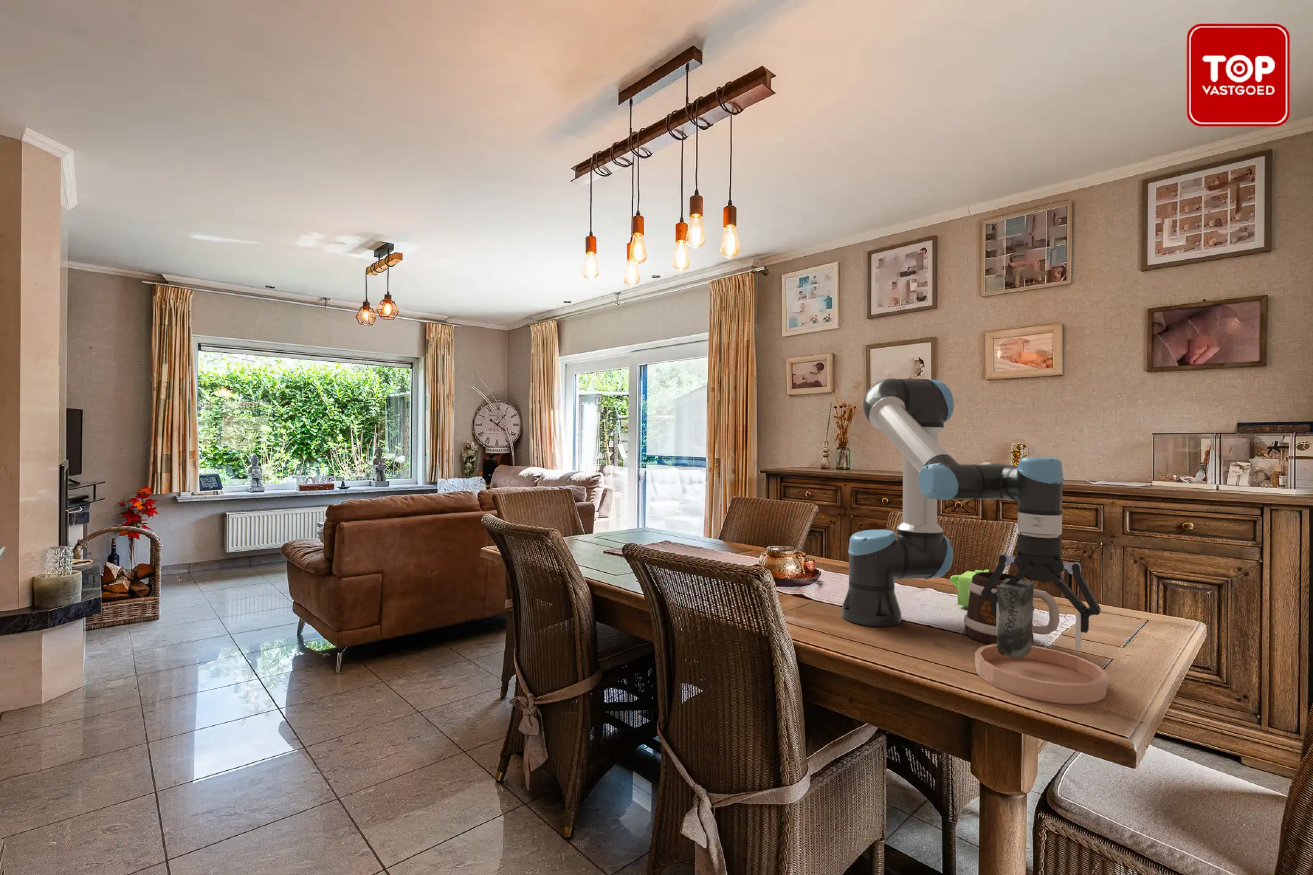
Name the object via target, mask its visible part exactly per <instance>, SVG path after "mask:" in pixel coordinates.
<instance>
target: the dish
mask: <svg viewBox="0 0 1313 875" xmlns="http://www.w3.org/2000/svg"><path fill="white" fill-rule="evenodd" d="M974 667H975V672H976V674H977V676H978V677H979V678H980V679H982V680H983V681H984V682H986V683H987V684H989V685H991V686H993V687H994V688H996V689H1000V690H1002V691H1004V692H1007V693H1009V694H1014V695H1016V696H1020V697H1024V698H1027V699H1031V700H1036V701H1040V702H1047V703H1051V704H1052V703H1053V704H1061V705H1062V704H1063V705H1073V706H1075V705H1092V704H1095V703H1099V702H1101V701H1104V700H1105V699H1106V697H1107V691H1108V673H1107V672H1106V671H1105V670H1104V669H1103V668H1102V667H1100V665H1098V664H1096V663H1094V662H1091V661H1090V660H1087V659H1085V658H1083V657H1081V656H1079V655H1074V654H1072V653H1067V652H1064V651H1061V650H1058V649H1053V648H1047V647H1041V646H1038V645H1032V647H1031V651H1030V652H1029V653H1028V654H1027V656H1025V657H1024V658H1023V659H1018V658H1011V657H1007V656H1004V655H1001V654H1000V653H999V652H998V649H997V644H987V645H983V646H980V647H978V649H977V650H976V651H975V652H974Z"/></svg>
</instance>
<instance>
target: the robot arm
mask: <svg viewBox="0 0 1313 875" xmlns="http://www.w3.org/2000/svg"><path fill="white" fill-rule="evenodd" d="M862 408H863V413H864V417H865V418H866V420H867V421H868V423H870V424H871V426H872V427H874V428H875V429H876V430H877V429H878V430H881V431H882V432H883V433H884V435H886V437H887V438H888V439H889V440H890V441H891V442H892V444H893V445H894V446H895V447H896V448H897V450H899V452H900V453H901V454H902V522H901V523H900V524H898V525H897V527H896V533H895V532H894V531H893V530H890V529H868V530H861V531H858V532H855V533H853V534H852V535H851V536H850V537H849V544H848V550H847V552H848V589H847V592H846V595H845V598H844V601H843V603H842V606H841V616H842V617H841V618H843V619H844V620H847V621H849V622H850V623H851V622H852V623H855V624H859V625H863V626H870V627H893V626H897V625H900V624H901V623H902V610H901V607H900V605H899V602H898V598H897V596H896V590H895V582H896V581H895V580H908V579H909V580H911V579H912V580H913V579H917V580H918V579H923V580H930V579H939V578H941V577H943V576H945V575H946V573H948V572H949V570H950V569H951V566H952V565H953V560H954V549H953V546H952V545H951V544H952V543H951V540H950V539H949V537H947V536H946V535H944V529H943V528H942V527H941V526H940V525H939V524H938V500H940V501H949V500H951V501H953V500H1006V501H1013V502H1014V501H1015V502H1017V506H1018V507H1017V528H1016V529H1017V530H1018V532H1020V533H1018V534H1017V535H1016V536H1017V540H1016V541H1017V544H1016V547H1017V548H1016V556H1013V555H1009V554H1007V553H1005V552H1003V553H1002V554H1000V555H999V557H998V563H997V566H996V568H995V569H994V570H993V574H992V576H991V577H990V579H989V580H988V582H987V584H986V585H985V587H984V589H983V590H982V592H981V595H982V596H984V597H987V598H989V599H990V600H991V615H992V616H996V634H997V629H998V625H999V617H1000V612H999V605H998V596H997V591H996V592H995V593H993V592H991V590H992V588H993V587H994V585H995V584H996V582H997V580H998V579H999V577H1000V576H1001V574H1002V573H1004V571H1005V569H1006V567H1008V566H1011V564H1012V563H1014V565H1015V567H1017V569H1018V570H1019V571H1018V572H1017V573H1016V574H1014V575H1015V576H1013V577H1012V578H1011V579H1010V580H1009V581H1008V582H1007V583H1006V584H1008V585H1015V584H1016V583H1017V582H1018V581H1019V580H1021V579H1023V578H1026V579H1027V580H1028V581H1030V582H1031V581H1032V582H1033V581H1037V582H1038V581H1039V582H1042V583H1045V584H1046V583H1049V582H1052V583H1053V584H1054V586H1055V587H1057V588H1058V590H1059V591H1060V592H1061V593H1062V594H1063V596H1064V597H1065V598H1066V599H1067V600H1068V601H1069V603H1070V604H1071V605H1072V606H1073V607H1074V608H1075V610H1076V611H1077V612H1076V614H1075V642H1074V643H1075V645H1074V649H1075V650H1076V651H1081V650H1082V649H1081V648H1082V646H1083V645H1082V641H1083V640H1082V638H1083V637H1082V636H1083V633H1085V634H1087V633H1088V632H1089V629H1090V616H1094V615H1095V616H1098V615H1100V613H1101V612H1102V611H1101V610H1102V609H1101V606H1100V605H1099V603H1098V600H1097V599H1096V598H1095V595H1094V594H1093V592H1092V590H1091V588H1090V587H1089V585H1088V582H1087V581H1086V579H1085V577H1084V575H1083V573H1082V565H1081V563H1080V562H1078V561H1075V562H1064V561H1063V559H1062V549H1063V548H1062V547H1063V546H1062V544H1063V543H1062V542H1063V539H1062V538H1061V536H1060V535H1062V534H1063V492H1064V490H1063V488H1064V485H1063V484H1064V481H1065V480H1064V475H1063V471H1064V470H1063V463H1062V461H1061V460H1060V459H1058V458H1056V457H1055V458H1054V457H1040V456H1039V457H1038V456H1025V457H1020V458H1019V460H1018V465H1012V464H1005V463H986V464H972V463H970V464H969V463H968V464H962V463H959V462H957V461H956V459H954V457H953V456H952V455H950V454H949V452H948V451H946V450H945V449H944V447H943V446H941V444H940V443H939V442H938V438H939V437H938V436H939V434H940V433H941V432H942V431H944V429H945V428H944V427H945V426H944V424H945V423H947V422H948V421H949V420H950V419H951V418H952V416H953V415H952V414H953V413H954V408H955V402H954V397H953V393H952V390H951V389H950V388H949V387H948V386H947V384H946V383H945V382H943V381H941V380H938V379H929V378H886V379H882V380H880V381H877V382H875V383H874V384H872V385H871V387H869V389H868V390H867V391H866V393H865V395H864V397H863V401H862ZM1063 570H1067V572H1068V574H1070V575H1072V576H1073V580H1074V581H1075V583H1076V584H1077V587H1078V588H1079V591H1080V593H1081V594H1082V595H1083V598H1084V599H1085V602H1086V604H1087V605H1088V607H1087V606H1086V605H1085V603H1084V602H1083V601H1082V600H1081V599H1080V598H1079V596H1078V595H1077V594H1076V593H1075V592H1074V590H1073V589H1072V588H1071V587H1070V586H1069V585H1068V584H1067V583H1066V581H1065V580H1064V579H1063V577H1062V576H1061V575H1060V574H1061V572H1062V571H1063Z"/></svg>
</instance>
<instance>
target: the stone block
mask: <svg viewBox="0 0 1313 875" xmlns="http://www.w3.org/2000/svg"><path fill="white" fill-rule="evenodd" d="M1009 580H1010V579H1005V580H1004V581H1003V582H1002V583H1001V584H1000V585H997V586H996V588H997V596H998V605H999V612H1000V617H999V625H998V629H997V639H996V643H997V649H998V652H999V653H1000V654H1001V655H1004V656H1007V657H1011V658H1018V659H1023V658H1024V657H1025V656H1027V654H1028V653H1029V652H1030V651H1031V647H1032V646H1033V642H1032V624H1033V622H1034V611H1035V606H1034V597H1033V591H1034V589H1035V588H1034V586H1035V583H1034V582H1033V581H1032V582H1031V581H1027V580H1024V581H1021V580H1019V581H1018V582H1017V583H1016V584H1015V585H1008V584H1006V583H1007V582H1008V581H1009Z"/></svg>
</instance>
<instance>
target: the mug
mask: <svg viewBox="0 0 1313 875" xmlns="http://www.w3.org/2000/svg"><path fill="white" fill-rule="evenodd" d="M993 572H994V571H993ZM993 572H992V571H991V572H990V571H989V572H980V573H977V574H975V575H973V577H972V581H970V582H969V586H968V587H969V590H970V595H969V603H968V608H967V609H966V610H967V612H966V614H965V615H964V618H963V622H964V633H965V634H966V635H967V636H968V637H970V638H971V639H973V640H974V641H978V642H980V643H983V644H987V645H991V644H997V643H996V639H997V634H996V616H992V615H991V600H990V599H989V598H987V597H984V596H982V595H981V592H982V590H983V589H984V587H985V585H986V584H987V582H988V580H989V579H990V577H991V576H992V574H993ZM1015 575H1016V574H1010V573H1006V572H1005V573H1004V572H1002V574H1001V576H1000V577H999V579H998V580H997V582H996V584H995V585H994V587H993V588H992V590H991V592H993V593H995V592H996V591H997V588H996V586H997V585H1000V584H1001V583H1002V582H1003V581H1004V580H1005V579H1011V578H1012V577H1013V576H1015ZM1021 581H1025V579H1023V578H1022V579H1021ZM1033 598H1034V599H1040V600H1042V601H1044V602H1045V603H1046V605H1047V607H1048V616H1049V617H1048V618H1049V619H1048V623H1047V624H1046V625H1042V626H1041V625H1034V624H1033V623H1032V643H1034V640H1035V639H1034V634H1037V635H1049V634H1050V633H1053V632H1054V631H1056V630H1058V627H1059V624H1060V608H1059V604H1058V603H1057V601H1056V600H1055V597H1054V596H1052V595H1051V594H1049V592H1047V591H1044V590H1040V589H1036V588H1034V591H1033Z"/></svg>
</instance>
